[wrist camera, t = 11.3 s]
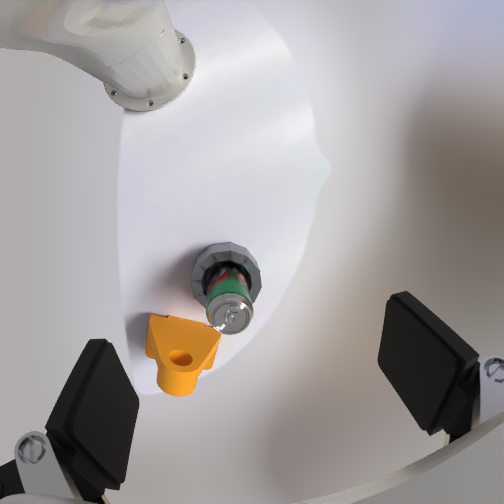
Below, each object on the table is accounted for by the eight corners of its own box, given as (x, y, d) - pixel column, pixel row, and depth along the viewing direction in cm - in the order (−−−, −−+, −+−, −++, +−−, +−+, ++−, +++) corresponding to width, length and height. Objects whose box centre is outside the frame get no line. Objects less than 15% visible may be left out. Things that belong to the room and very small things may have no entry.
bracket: (148, 346, 43) (133, 398, 32) (152, 311, 41) (135, 361, 30) (210, 359, 45) (211, 413, 34) (220, 326, 43) (222, 379, 32)
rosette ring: (188, 248, 39) (185, 256, 35) (253, 238, 39) (257, 246, 36) (200, 305, 42) (199, 317, 38) (260, 296, 42) (263, 308, 39)
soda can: (204, 284, 41) (201, 332, 29) (213, 251, 39) (212, 291, 28) (237, 292, 42) (246, 341, 30) (248, 261, 40) (261, 302, 29)
